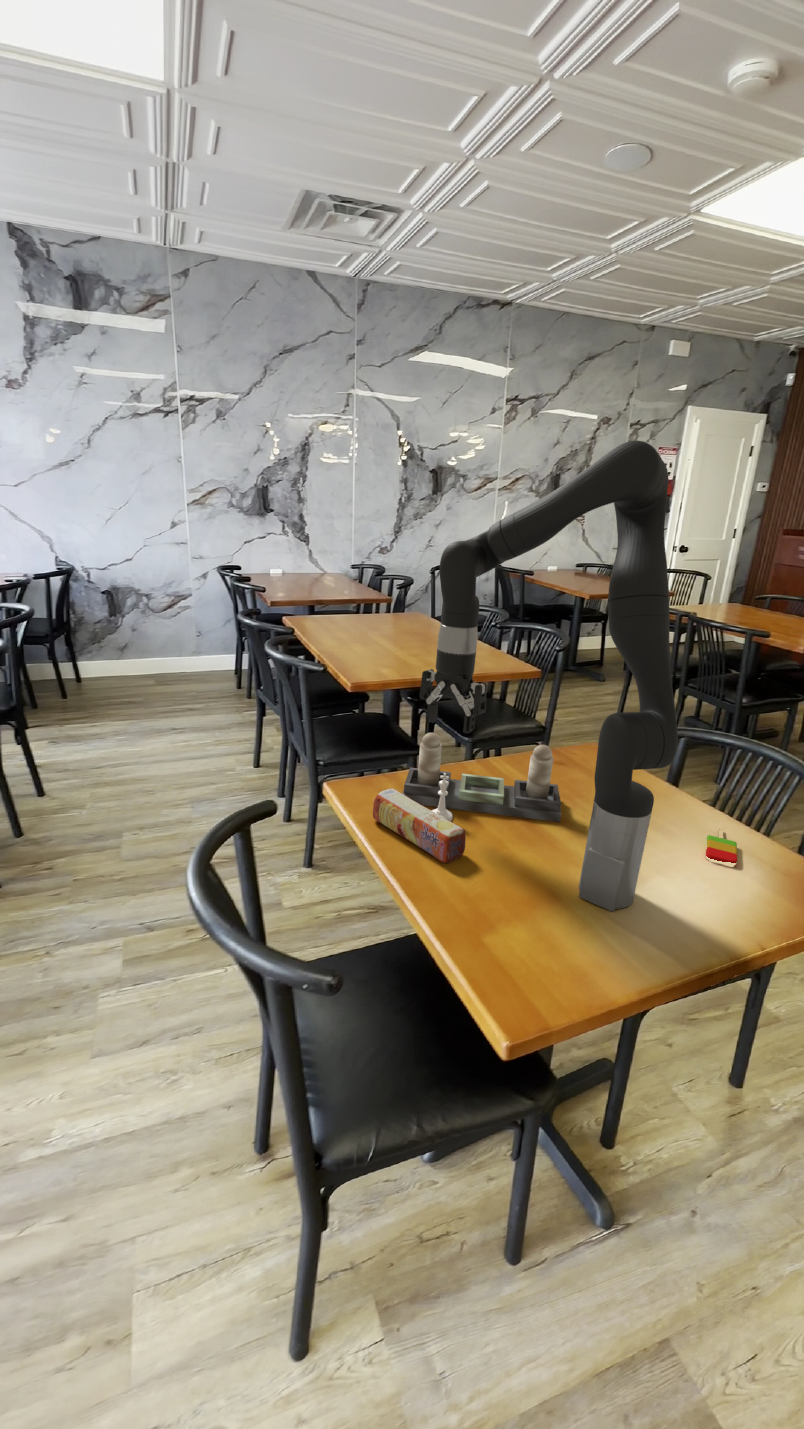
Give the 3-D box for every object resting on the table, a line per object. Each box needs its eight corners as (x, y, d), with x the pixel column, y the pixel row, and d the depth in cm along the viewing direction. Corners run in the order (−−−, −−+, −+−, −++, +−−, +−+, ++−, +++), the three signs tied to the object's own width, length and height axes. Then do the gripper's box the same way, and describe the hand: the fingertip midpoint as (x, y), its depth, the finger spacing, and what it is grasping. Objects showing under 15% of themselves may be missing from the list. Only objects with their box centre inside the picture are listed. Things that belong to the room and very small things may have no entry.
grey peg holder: (555, 799, 148) (565, 738, 143) (559, 822, 138) (570, 757, 133) (408, 781, 152) (412, 722, 147) (401, 802, 142) (405, 739, 137)
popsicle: (704, 863, 126) (706, 854, 126) (706, 830, 139) (708, 822, 139) (735, 871, 124) (738, 862, 124) (734, 837, 137) (736, 829, 137)
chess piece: (450, 824, 134) (455, 780, 130) (427, 820, 135) (430, 776, 131) (453, 813, 138) (458, 770, 135) (431, 810, 139) (434, 767, 136)
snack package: (467, 856, 123) (471, 825, 120) (442, 868, 118) (445, 835, 116) (393, 813, 137) (395, 784, 135) (369, 821, 133) (370, 792, 131)
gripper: (498, 652, 123) (489, 731, 129) (438, 638, 132) (431, 713, 137) (477, 658, 118) (469, 741, 123) (415, 643, 126) (410, 721, 131)
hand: (449, 726), depth 130 cm, fingers open, 8 cm apart
